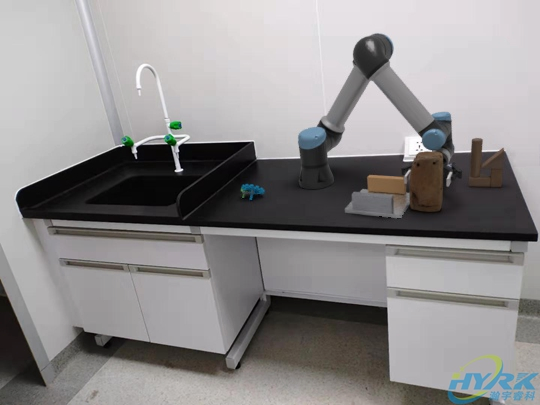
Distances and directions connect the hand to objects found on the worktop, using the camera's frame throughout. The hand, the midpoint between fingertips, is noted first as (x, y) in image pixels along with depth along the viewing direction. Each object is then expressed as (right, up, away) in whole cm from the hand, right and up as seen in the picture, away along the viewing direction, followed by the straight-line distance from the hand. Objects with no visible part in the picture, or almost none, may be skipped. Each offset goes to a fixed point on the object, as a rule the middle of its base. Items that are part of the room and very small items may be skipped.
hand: (426, 181), depth 140 cm
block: (+2, -9, +6) cm, 11 cm away
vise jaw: (-8, -3, +20) cm, 21 cm away
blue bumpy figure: (-60, -5, +37) cm, 70 cm away
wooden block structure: (+28, -1, +17) cm, 33 cm away
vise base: (-12, -8, +14) cm, 20 cm away
